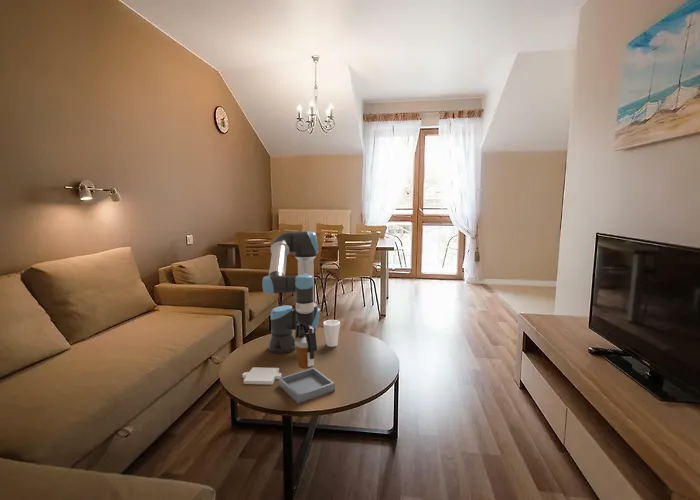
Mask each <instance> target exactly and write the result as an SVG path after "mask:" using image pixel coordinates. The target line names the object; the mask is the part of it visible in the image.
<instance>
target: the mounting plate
mask: <svg viewBox="0 0 700 500" xmlns="http://www.w3.org/2000/svg"><path fill="white" fill-rule="evenodd" d="M279 378H282V373H281V372H280V368H279V367H257V366H256V367H252V368H251V369H250V370H249V371H244V372H243V373H242V379H243V385H273V384H274V382H275V380H279Z"/></svg>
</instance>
